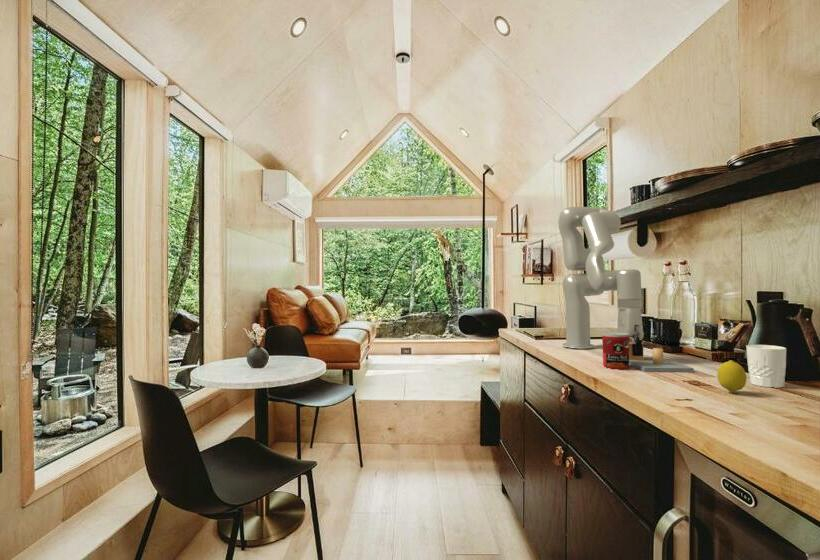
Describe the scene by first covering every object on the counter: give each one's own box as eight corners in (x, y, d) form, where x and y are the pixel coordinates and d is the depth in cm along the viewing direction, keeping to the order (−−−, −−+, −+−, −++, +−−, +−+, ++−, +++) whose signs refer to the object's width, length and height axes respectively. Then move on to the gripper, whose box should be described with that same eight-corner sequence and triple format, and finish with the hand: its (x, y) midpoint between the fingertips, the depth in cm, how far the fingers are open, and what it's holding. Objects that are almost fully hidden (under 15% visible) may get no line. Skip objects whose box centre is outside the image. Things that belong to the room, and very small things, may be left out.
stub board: (626, 363, 135) (626, 345, 135) (671, 363, 133) (670, 345, 133) (644, 371, 122) (644, 352, 122) (693, 372, 120) (693, 352, 120)
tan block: (618, 359, 142) (617, 341, 142) (635, 359, 141) (635, 341, 142) (625, 362, 136) (624, 343, 136) (643, 362, 135) (643, 343, 136)
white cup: (794, 386, 102) (793, 347, 102) (776, 390, 99) (775, 350, 100) (758, 380, 110) (757, 343, 110) (740, 383, 107) (739, 345, 107)
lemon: (752, 396, 94) (751, 362, 94) (725, 395, 95) (724, 362, 95) (738, 390, 99) (737, 358, 100) (713, 389, 101) (712, 358, 101)
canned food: (605, 369, 126) (604, 334, 126) (601, 364, 134) (600, 331, 134) (632, 370, 124) (631, 335, 124) (626, 365, 131) (625, 332, 132)
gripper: (609, 304, 148) (610, 350, 147) (628, 305, 131) (630, 357, 130) (630, 303, 147) (632, 350, 146) (652, 305, 130) (655, 357, 129)
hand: (631, 353), depth 138 cm, fingers open, 9 cm apart
